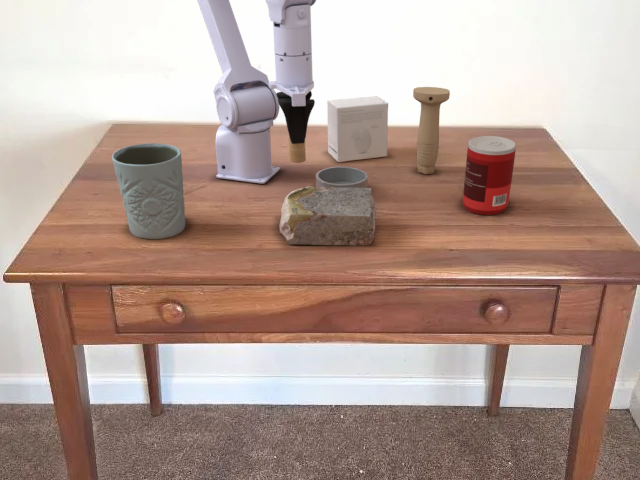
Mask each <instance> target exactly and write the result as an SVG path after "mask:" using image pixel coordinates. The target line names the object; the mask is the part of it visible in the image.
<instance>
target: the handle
mask: <svg viewBox="0 0 640 480" xmlns="http://www.w3.org/2000/svg"><path fill="white" fill-rule="evenodd" d="M450 94H451V91H450V90H449V89H448V88H444V87H439V86H438V87H437V86H418V87H414V88H413V91H412V97H413V99H414V100H416V101H417V102H418V103H420V116H419V123H418V131H417V140H416V141H417V142H416V161H417V172H418V173H419V174H423V175H428V174H429V175H430V174H431V175H432V174H434V173H435V170H436V164H437V161H438V155H439V147H440V113H441V110H440V109H441V104H443V103H445V102H447V101H448V100H450Z"/></svg>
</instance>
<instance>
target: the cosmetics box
mask: <svg viewBox="0 0 640 480" xmlns="http://www.w3.org/2000/svg"><path fill="white" fill-rule="evenodd" d="M326 102H327V104H326V105H327V106H326V107H327V109H326V110H327V152H328V154H329V155H330V156H331V157H332V158H333V159H334V160H335V161H336V162H338V163H344V162H353V161H359V160H367V159H375V158H386V157H388V128H389V127H388V125H389V123H388V121H389V102H387V101H385V100H384V99H383V98H381V97H379V96H377V95H372V96H363V97H351V98H341V99H330V100H329V99H328V100H327V101H326Z"/></svg>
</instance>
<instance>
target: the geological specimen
mask: <svg viewBox="0 0 640 480" xmlns="http://www.w3.org/2000/svg"><path fill="white" fill-rule="evenodd" d="M375 200H376V199H375V197H374V196H373V189H372V187H367V188H336V187H331V188H330V189H327V188H324V187H320V188H319V189H316V187H314V186H313V185H308V186H305V187H299V188H297V189H295V190H292V191H291V192H289V193H288V194H287V196H285V198H284V201H283V204H282V206H281V209H280V211H281V215H280V221H279V224H278V229H279V233H280V234H281V235H282V236H283V237H284V238H285V240H286V242H287V243H288V245H308V246H309V245H313V246H371V244H372V242H373V241H374V238H375V237H374V236H375V231H376V215H377V207H376V201H375Z"/></svg>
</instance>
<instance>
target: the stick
mask: <svg viewBox="0 0 640 480" xmlns="http://www.w3.org/2000/svg"><path fill="white" fill-rule="evenodd" d="M288 149H289V162H291V163H294V164H302V163H305V162H306V161H307V159H306V141H305V142H304V143H298V144H292V143H291V140H290V136H289V135H288Z"/></svg>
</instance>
